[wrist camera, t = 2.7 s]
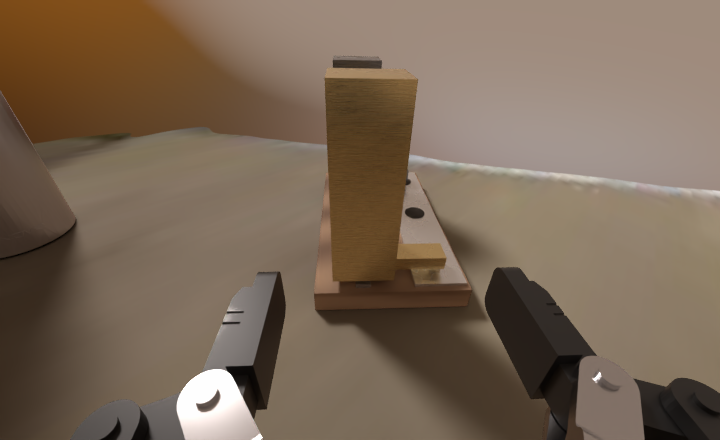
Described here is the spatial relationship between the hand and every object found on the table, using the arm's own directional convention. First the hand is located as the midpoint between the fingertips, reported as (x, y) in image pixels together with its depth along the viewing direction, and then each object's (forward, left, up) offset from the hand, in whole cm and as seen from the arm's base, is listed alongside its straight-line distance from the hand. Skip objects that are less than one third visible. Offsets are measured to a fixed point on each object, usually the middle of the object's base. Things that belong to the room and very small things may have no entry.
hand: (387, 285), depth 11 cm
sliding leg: (-7, +10, -9) cm, 15 cm away
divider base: (-13, +16, -12) cm, 24 cm away
